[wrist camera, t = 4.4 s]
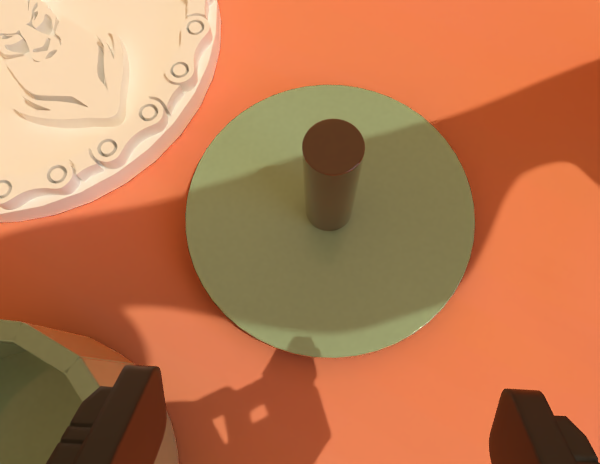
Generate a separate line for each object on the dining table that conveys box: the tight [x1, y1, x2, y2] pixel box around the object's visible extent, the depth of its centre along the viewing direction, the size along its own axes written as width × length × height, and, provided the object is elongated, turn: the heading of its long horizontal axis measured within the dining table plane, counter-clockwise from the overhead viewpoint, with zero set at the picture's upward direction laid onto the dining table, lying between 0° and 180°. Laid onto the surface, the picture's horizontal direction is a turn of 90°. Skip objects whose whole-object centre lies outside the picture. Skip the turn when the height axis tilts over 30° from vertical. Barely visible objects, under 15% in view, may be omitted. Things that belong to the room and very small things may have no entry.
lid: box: [185, 85, 475, 359], centre depth 23 cm, size 15×15×8 cm
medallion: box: [0, 0, 221, 222], centre depth 30 cm, size 24×27×2 cm
